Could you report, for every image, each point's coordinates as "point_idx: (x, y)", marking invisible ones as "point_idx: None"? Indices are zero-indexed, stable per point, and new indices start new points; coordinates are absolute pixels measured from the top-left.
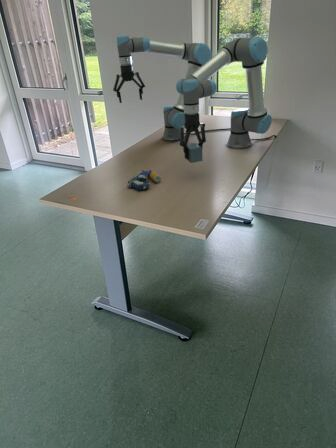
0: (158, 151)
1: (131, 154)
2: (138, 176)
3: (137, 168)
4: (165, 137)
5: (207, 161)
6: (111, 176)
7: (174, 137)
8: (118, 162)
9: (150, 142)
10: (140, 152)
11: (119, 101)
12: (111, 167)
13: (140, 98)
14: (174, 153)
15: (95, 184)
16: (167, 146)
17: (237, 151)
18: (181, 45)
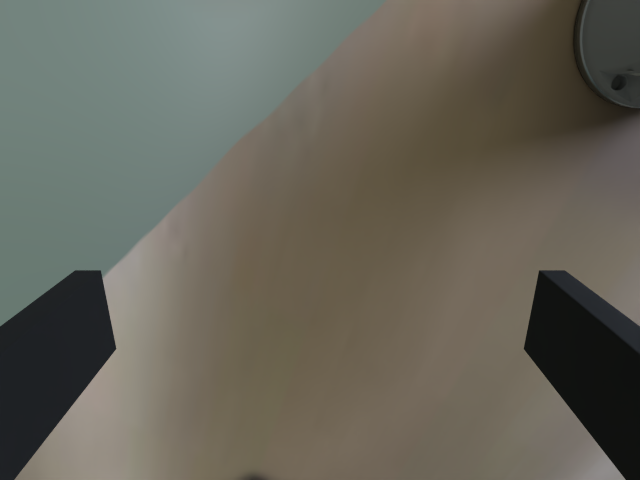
0: (426, 246)
1: (266, 207)
2: None
3: (250, 403)
4: (587, 49)
5: (546, 472)
6: (125, 427)
7: (634, 104)
8: (174, 290)
9: (460, 28)
10: (326, 203)
11: (65, 280)
12: (131, 335)
13: (541, 329)
14: (484, 321)
15: (57, 464)
16: (513, 190)
17: None
18: None
